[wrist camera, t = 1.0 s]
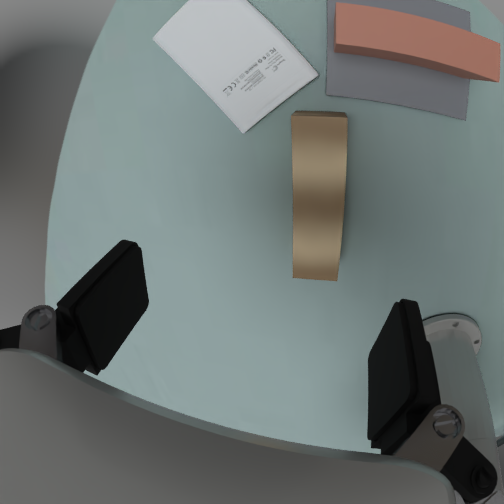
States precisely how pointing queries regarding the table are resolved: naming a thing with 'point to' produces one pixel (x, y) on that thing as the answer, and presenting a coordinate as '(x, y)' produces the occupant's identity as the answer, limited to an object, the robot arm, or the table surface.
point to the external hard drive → (235, 57)
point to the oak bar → (318, 192)
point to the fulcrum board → (399, 74)
